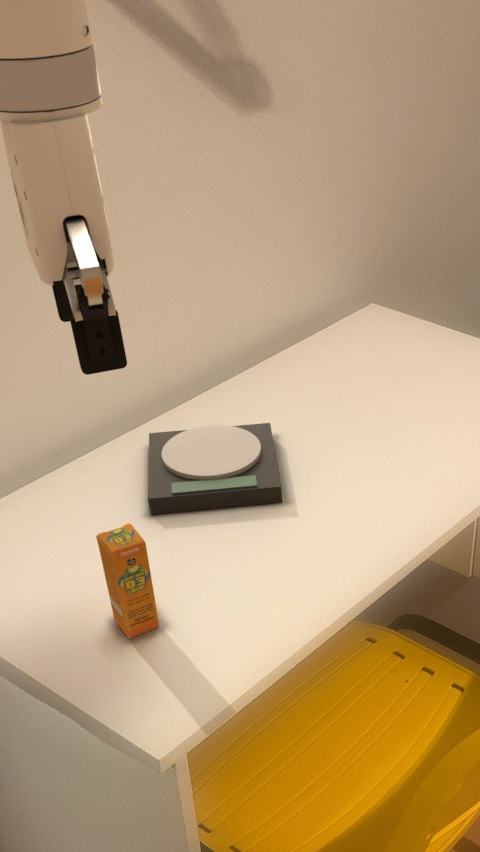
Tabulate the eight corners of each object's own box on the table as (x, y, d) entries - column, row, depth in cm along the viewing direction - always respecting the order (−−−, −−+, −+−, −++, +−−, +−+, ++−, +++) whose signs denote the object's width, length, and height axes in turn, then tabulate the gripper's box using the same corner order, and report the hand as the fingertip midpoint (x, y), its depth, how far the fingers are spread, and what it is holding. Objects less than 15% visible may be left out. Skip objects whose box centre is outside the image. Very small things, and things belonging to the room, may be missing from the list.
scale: (150, 515, 102) (146, 494, 100) (151, 448, 112) (148, 428, 110) (282, 502, 103) (280, 481, 101) (271, 437, 114) (269, 417, 112)
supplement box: (129, 641, 86) (108, 552, 80) (113, 621, 89) (92, 532, 82) (162, 628, 88) (145, 538, 81) (147, 608, 90) (129, 519, 83)
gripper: (-37, 61, 65) (25, 308, 76) (-10, 120, 53) (59, 403, 64) (74, 51, 67) (119, 293, 78) (125, 106, 55) (169, 382, 66)
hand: (92, 342), depth 71 cm, fingers open, 9 cm apart
